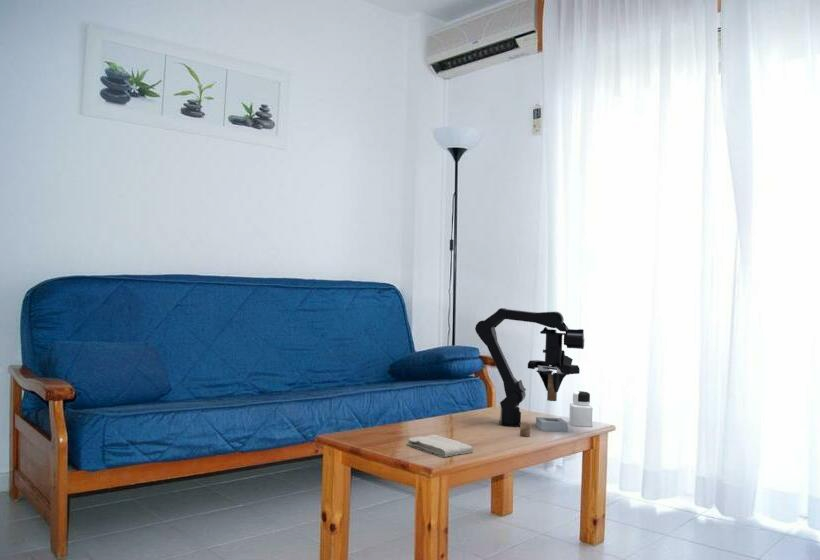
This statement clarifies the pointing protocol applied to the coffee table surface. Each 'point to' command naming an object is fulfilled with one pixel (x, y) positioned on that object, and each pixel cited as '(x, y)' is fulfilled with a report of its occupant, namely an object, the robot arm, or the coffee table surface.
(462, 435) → the coffee table surface
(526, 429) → the short stub
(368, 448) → the coffee table surface
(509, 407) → the robot arm
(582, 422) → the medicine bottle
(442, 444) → the washcloth
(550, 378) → the long dowel
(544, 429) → the collar block
